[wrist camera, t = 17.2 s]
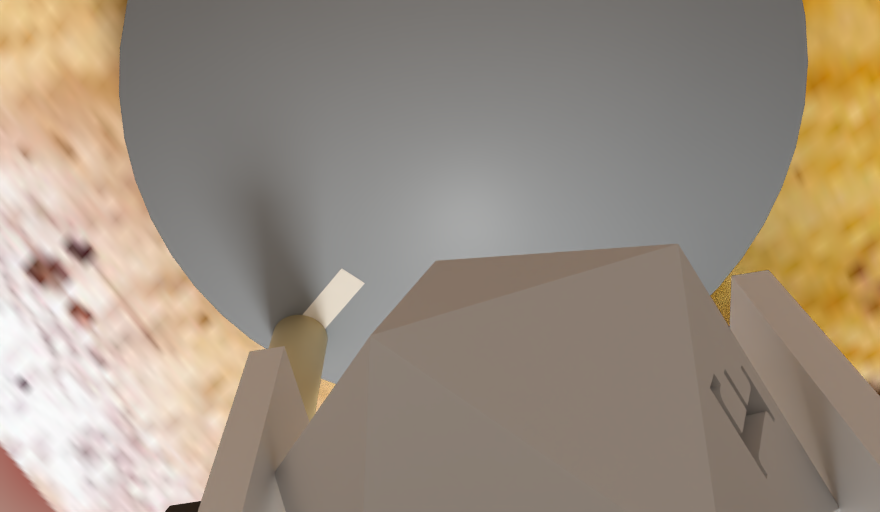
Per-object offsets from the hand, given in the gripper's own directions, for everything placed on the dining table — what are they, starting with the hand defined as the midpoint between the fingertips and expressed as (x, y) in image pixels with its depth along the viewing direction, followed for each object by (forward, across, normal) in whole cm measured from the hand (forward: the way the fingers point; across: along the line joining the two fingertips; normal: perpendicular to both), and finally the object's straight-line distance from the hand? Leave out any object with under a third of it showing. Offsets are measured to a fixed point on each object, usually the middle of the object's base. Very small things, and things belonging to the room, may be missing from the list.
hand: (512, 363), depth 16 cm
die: (0, 0, 0) cm, 0 cm away
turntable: (+16, 0, 0) cm, 16 cm away
